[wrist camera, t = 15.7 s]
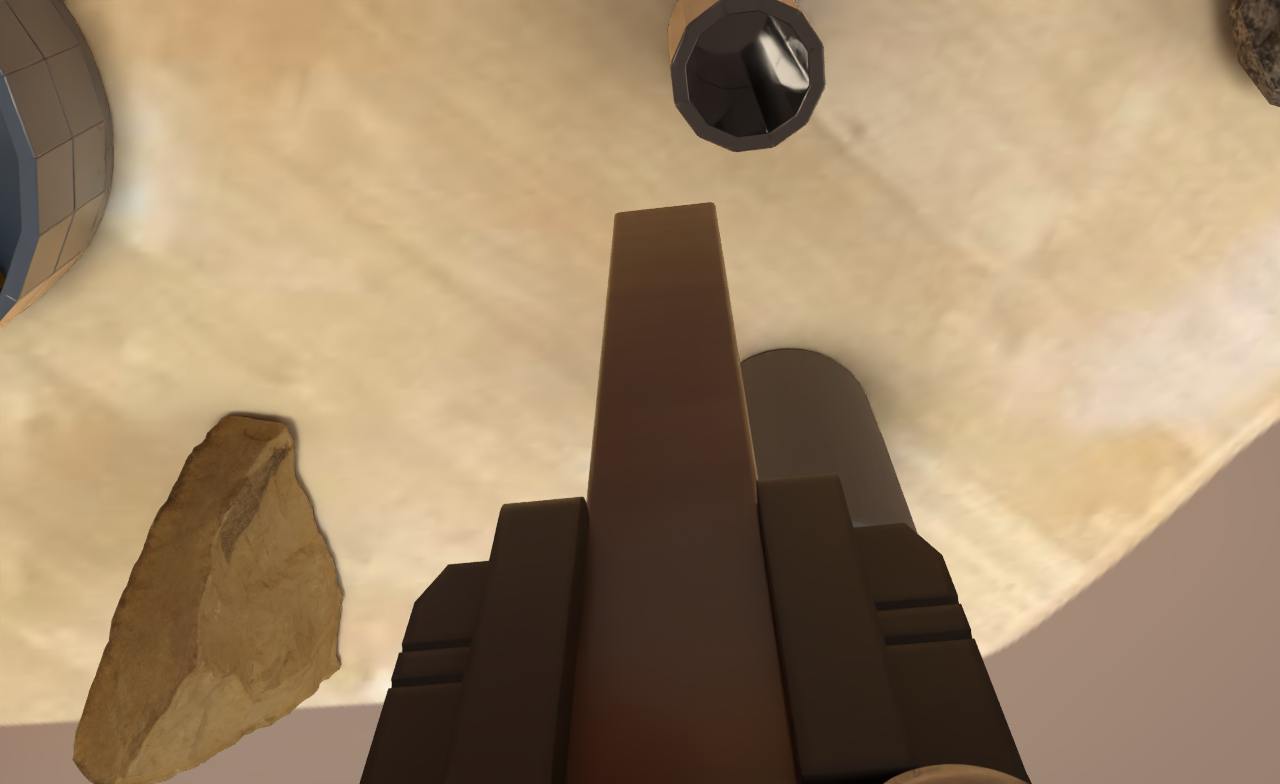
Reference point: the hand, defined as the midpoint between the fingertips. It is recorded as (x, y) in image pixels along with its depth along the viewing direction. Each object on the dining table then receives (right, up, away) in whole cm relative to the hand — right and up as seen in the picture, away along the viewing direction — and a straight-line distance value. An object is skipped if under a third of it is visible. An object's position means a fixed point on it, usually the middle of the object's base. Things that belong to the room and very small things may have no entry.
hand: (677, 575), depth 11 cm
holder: (+2, +12, +24) cm, 27 cm away
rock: (-14, -4, +32) cm, 35 cm away
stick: (0, +4, +8) cm, 9 cm away
